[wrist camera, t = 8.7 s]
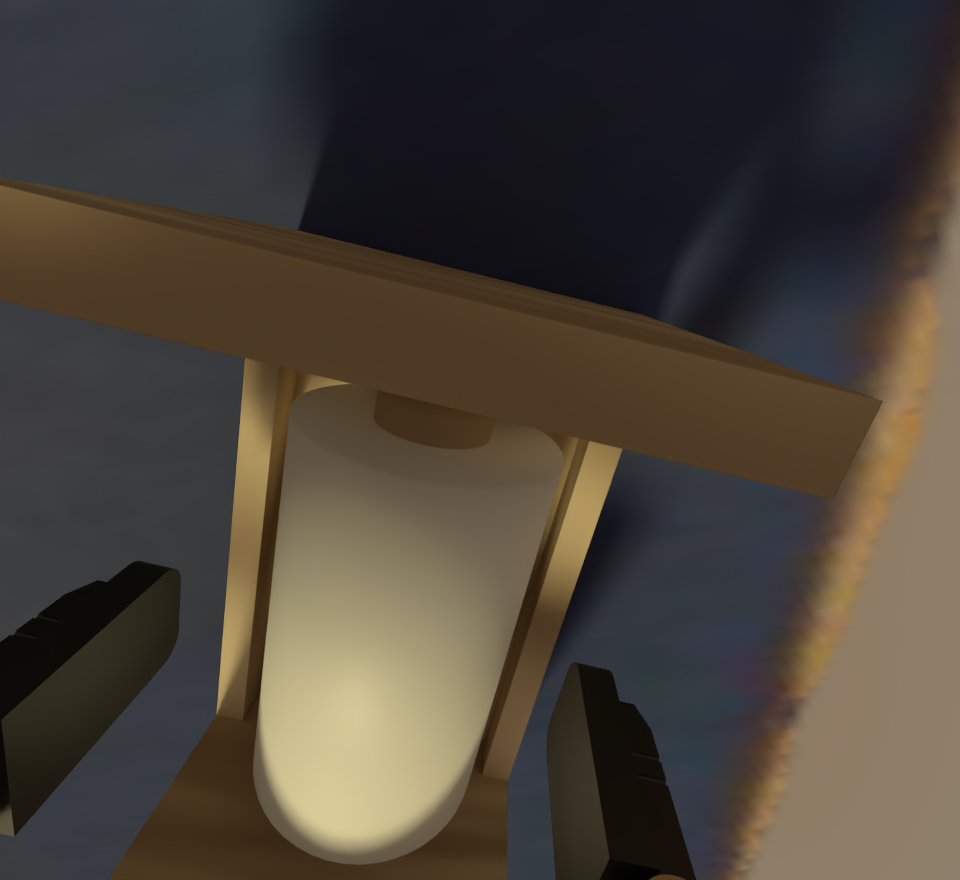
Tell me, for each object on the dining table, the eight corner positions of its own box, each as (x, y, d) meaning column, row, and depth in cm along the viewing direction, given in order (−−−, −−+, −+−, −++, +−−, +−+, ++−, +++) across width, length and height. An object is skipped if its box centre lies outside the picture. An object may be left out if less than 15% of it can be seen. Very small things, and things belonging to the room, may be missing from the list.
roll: (335, 345, 13) (240, 406, 7) (550, 392, 13) (603, 480, 8) (293, 667, 16) (207, 865, 11) (466, 695, 16) (464, 897, 11)
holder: (297, 229, 13) (-116, 157, 4) (641, 314, 13) (883, 400, 5) (249, 683, 18) (8, 1067, 9) (501, 741, 18) (491, 1168, 9)
